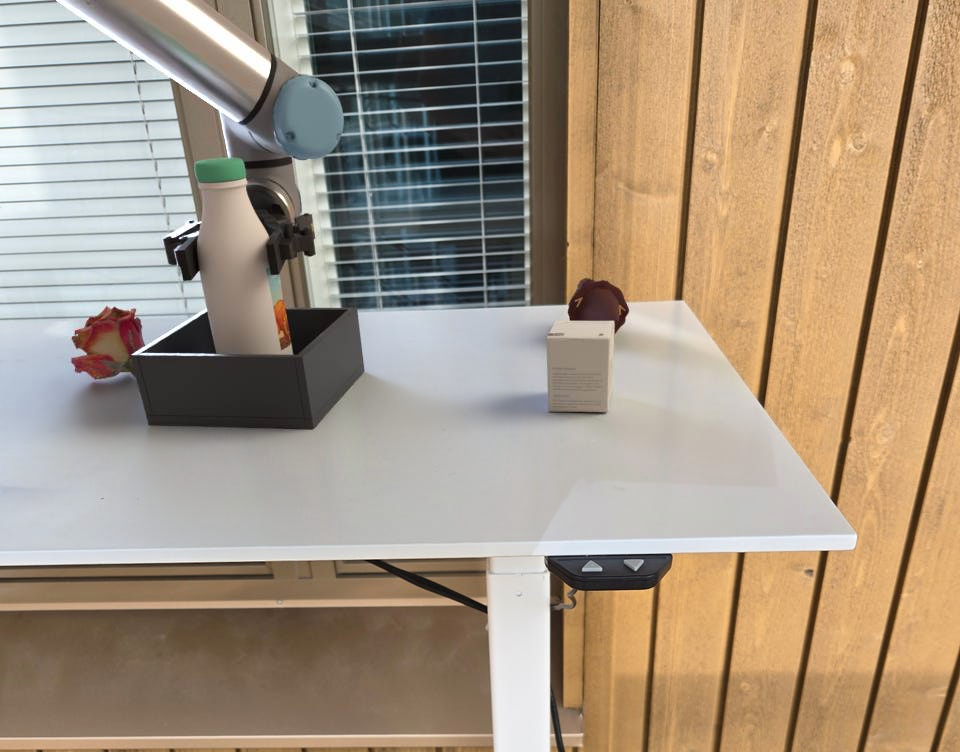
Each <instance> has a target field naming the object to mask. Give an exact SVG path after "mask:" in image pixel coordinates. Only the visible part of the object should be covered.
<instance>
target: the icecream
mask: <svg viewBox="0 0 960 752" xmlns="http://www.w3.org/2000/svg"><path fill="white" fill-rule="evenodd" d="M576 286H577V287H576V290H575V291H574V293H573V295H572V297H571V299H570V301H569V302H568V308H567V315H568V318H569V320H568V321H614V323H615V328H614V336H616V334H617V333H618V331H619V330H620V328H622V327H623V325H625V323H626V321H627V316H628V315H629V314H630V308H629V305H628V303H627V301H626V299H625V296H624V294H623V293H624V292H623V291H622V290H621V289H620V288H619V287H617V286H615V285H614V284H612V283H611V282H609V280H606V279H605V280H604V279H602V280H601V279H600V280H599V281H598V280H597V281H595V279H592V278H588V277H585V278H582V279H580V280H579V282H578V283H577V285H576Z"/></svg>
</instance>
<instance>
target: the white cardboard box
mask: <svg viewBox="0 0 960 752" xmlns="http://www.w3.org/2000/svg"><path fill="white" fill-rule="evenodd" d="M614 328H615V323H614V321H569V320H555V321H554V322H553V324H552V327H551V329H550V330H549V333H548V334H547V336H546V339H545V340H546V341H545V342H546V368H547V369H546V375H547V377H546V378H547V379H546V380H547V383H546V385H547V411H548V412H549V413H550V412H551V413H552V412H554V413H555V412H556V413H557V412H561V413H562V412H566V413H567V412H568V413H569V412H573V413H574V412H575V413H581V412H582V413H608V412H609V409H610V406H611V405H610V404H611V400H612V396H613V391H614V360H615V359H614V358H615V357H614V355H615V335H614Z"/></svg>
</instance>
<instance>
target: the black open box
mask: <svg viewBox="0 0 960 752" xmlns="http://www.w3.org/2000/svg"><path fill="white" fill-rule="evenodd" d="M285 309H286V315H287V321H288V327H289V333H290V339H291V345H292V351H293V355H277V354H216V349H215V345H214V340H213V335H212V331H211V326H210V321H209V317H208V312H207V307H206V308H205V309H203V310H201V311H199V312H198V313H197V314H195V315H193V316H191V317H190V318H189V319H187V320H185V321H183V322H182V323H181V324H179V325H177V326H175V327H174V328H172V329H171V330H169V331H167V332H166V333H164V334H162V335H160V336H159V337H157V338H156V339H154V340H152V341H151V342H150V343H148V344H145V347H143V348H141V349H140V350H138V351H136V352H135V353H133V354H132V355H130V357H131V361H132V365H133V368H134V372H135V376H136V378H135V380H136V384H137V387H138V390H139V394H140V398H141V401H142V406H143V409H144V413H145V418H146V421H147V425H148V426H149V425H150V426H183V427H184V426H186V427H219V428H220V427H221V428H222V427H225V428H226V427H227V428H263V429H264V428H265V429H301V430H314V429H315V428H316V427H317V426H318V425H319V424H320V422H321V421H322V420H323V419H324V418H325V417H326V416H327V415H328V413H330V411H331V410H332V409H333V408H334V406H335V405H336V404H338V402H339V401H340V400H341V399H342V398H343V397H344V395H345V394H346V393H347V392H348V391H349V390H350V389H351V387H352V386H354V384H355V383H356V382H357V381H358V380H359V378H361V376H362V375H363V374H364V373H365V363H364V356H363V355H364V354H363V346H362V345H363V344H362V338H361V337H362V336H361V327H360V320H359V312H358V307H285Z"/></svg>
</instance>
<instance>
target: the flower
mask: <svg viewBox="0 0 960 752" xmlns="http://www.w3.org/2000/svg"><path fill="white" fill-rule="evenodd" d="M136 312H137V308H134V307H133V308H131V309H130V310H129V309H120V308H117V307H116V306H113V307H112V308H111V307H109V306H105V307H104V309H103V310H102V311H101V312H100V313H99V314H98V315H95V316H89V317H88V319H87V320H86V322H85V325H84V326H83V328H78V329H75V330H74V335H72V336H71V341H72V342H73V345H74V347H75V349H76V350H77V351H78V349H80V350H82V351H83V352H84V353H85V354H86V355H80V356H75V357H71V358H70V363H71V364H72V365H73V366H74V372H75V373H76V374H78V373H79V374H81V373H83V372H84V373H86V374H88V375H89V376H90V377H91V378H92V379H94V381H96V380H102V379H104V380H105V379H109V378H113V377H114V378H115V377H116V376H118V375H119V374H120V373H130V374H131V375H132V376H133V378H134V379H136V376H135V372H134V368H133V365H132V361H131V357H130V355H132V354H133V353H135V352H136V351H138V350H140V349H141V348H143V347H145V346H146V344H145V341H144V338H143V332H142V331H143V325H142V320H141V318H139V317H137V316H136Z"/></svg>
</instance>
